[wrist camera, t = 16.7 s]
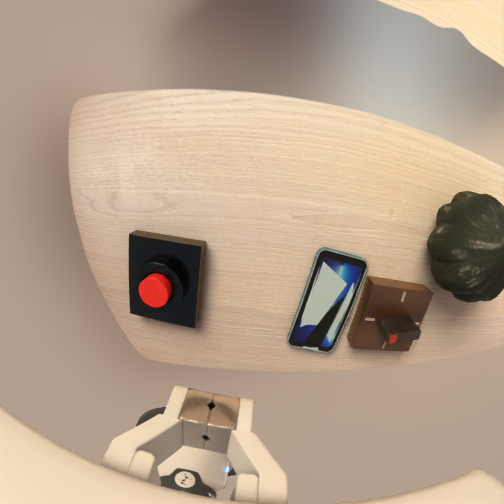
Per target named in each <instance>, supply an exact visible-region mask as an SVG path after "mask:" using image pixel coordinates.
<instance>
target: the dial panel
mask: <svg viewBox="0 0 504 504" xmlns="http://www.w3.org/2000/svg"><path fill="white" fill-rule="evenodd" d="M432 294H433V293H432V292H431V291H430V290H429V289H428V288H427V287H426V286H425V285H422V284H416V283H410V282H404V281H397V280H391V279H385V278H379V277H372V276H367V278H366V282H365V285H364V288H363V291H362V295H361V298H360V301H359V304H358V307H357V310H356V313H355V316H354V318H353V321H352V324H351V327H350V330H349V332H348V335H347V338H348V341H349V343H350V346H351V348H356V349H371V350H388V351H409V348H410V346H411V344H412V342H413V340H409V341H401V342H395V343H386V341H385V340H384V338H383V336H382V334H381V333H380V331H379V329H378V322H379V319H384V318H396V317H406V316H410V317H411V318H412V320H413V321H414V322H415V323H416V325H417V326H418V327H420V324H421V322H422V320H423V317H424V315H425V312H426V310H427V307H428V305H429V302H430V300H431V297H432Z"/></svg>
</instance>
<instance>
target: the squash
mask: <svg viewBox="0 0 504 504" xmlns="http://www.w3.org/2000/svg"><path fill="white" fill-rule="evenodd" d="M437 226H438V227H437V228H436V229H435V230H434V231H433V232H432V233H431V234H430V236H429V239H428V243H427V245H428V249H429V251H430V253H431V254H432V256H433V260H432V264H431V271H432V275H433V277H434V279H435V281H436V283H437V284H438V285H439V286H440V287H441V288H443V289H444V290H446V291H449V292H452V294H453V295H454V297H455V298H457V299H459V300H461V301H464V302H477V301H480V300H481V301H491V300H492V299H494V298H496V297H497V296H498V295H499V294H500V292H501V291H502V290H503V289H504V206H503V205H502V204H501V203H500V202H499V201H498V200H497V199H496V198H494V197H492V196H490V195H488V194H478V193H475V192H470V191H464V192H459V193H457V194H456V195H455V196H454V198H453V200H452V202H451V203H449V204H446V205H443V206H442V207H441V208H440V209H439V210H438V213H437Z"/></svg>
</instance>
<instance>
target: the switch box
mask: <svg viewBox="0 0 504 504" xmlns="http://www.w3.org/2000/svg"><path fill="white" fill-rule="evenodd" d="M205 244H206V241H200V240H194V239H188V238H182V237H176V236H170V235H163V234H157V233H151V232H145V231H139V230H136V231H134V232H132V233H130V234H129V296H130V313H132V314H135V315H139V316H143V317H147V318H151V319H155V320H160V321H164V322H168V323H173V324H177V325H182V326H186V327H191V328H195V327H196V325H197V323H198V320H199V307H200V295H201V284H202V273H203V263H204V253H205ZM152 273H158V274H162V275H163V276H165V277H166V278H167V279H168V280H169V281H170V283H171V286H172V295H171V297H170V298H169V299H168V301H167V302H166V304H165V305H163V306H161V307H151V306H149V305H147V304H146V303H145V302H144V301H143V300H142V299H141V297H140V294H139V285H140V283H141V282H142V281H143V280H144V279H145V278H146V277H147V276H148V275H150V274H152Z"/></svg>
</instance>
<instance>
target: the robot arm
mask: <svg viewBox="0 0 504 504" xmlns="http://www.w3.org/2000/svg"><path fill="white" fill-rule="evenodd" d="M253 412H254V400H252V399H244V398H239V397H232V396H226V395H220V394H213V393H209V392H204V391H200V390H196V389H192V388H187V387H183V386H179V385H176V386H175V387H174V389H173V392H172V394H171V397H170V399H169V402H168V404H167V406H166V409H165V411H164V414H158V415H156V416H155V417H153V418H151V419H149V420H148V421H146V422H144V423H142V424H140V425H139V426H137V427H135V428H133V429H132V430H129V431H128V432H126V433H124V434H122V435H120V436H118V437H116V438H114V439H113V441H112V442H111V444H110V446H109V448H108V450H107V452H106V454H105V456H104V458H103V460H102V462H101V464H99V463H96V462H94V461H92V460H90V459H88V458H86V457H84V456H81V455H79V454H77V453H75V452H73V451H71V450H69V449H68V448H66V447H64V446H62V445H60V444H58V443H57V442H55V441H53V440H51V439H50V438H48V437H46V436H45V435H43V434H41V433H40V432H38V431H37V430H35V429H33V428H32V427H30V426H29V425H27V424H26V423H24V422H23V421H21V420H20V419H19V418H17V417H16V416H14V415H13V414H12V413H10V412H9V411H7V410H6V409H5V408H4V407H2V406H1V405H0V504H287V475H286V474H285V472H284V471H283V470H282V469H281V467H280V466H279V465H278V463H277V462H276V461H275V459H274V458H273V457H272V455H271V454H270V453H269V451H268V450H267V448H266V447H265V446H264V444H263V443H262V441H261V440H260V439H259V437H258V436H257V434H256V433H252V424H253ZM232 468H233V469H234V471H235V472H236V474H237V476H238V477H237V480H236V483H235V486H234V489H233V492H232V495H231V499H230V501H229V500H223V499H217V498H216V492H217V491H218V490H219V489H221V488H225V486H226V484H227V481H226V479H227V475H228V473H229V472H230V471H231V469H232ZM337 504H504V487H503V485H502V484H501V482H500V481H499V480H497V479H496V478H494V477H493V476H491V475H490V474H488V473H486V472H484V471H482V470H474V471H471V472H469V473H466V474H463V475H461V476H458V477H455V478H453V479H450V480H447V481H444V482H441V483H438V484H435V485H431V486H428V487H425V488H422V489H418V490H414V491H410V492H406V493H401V494H397V495H392V496H387V497H382V498H376V499H370V500H363V501H355V502H347V503H337Z"/></svg>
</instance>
